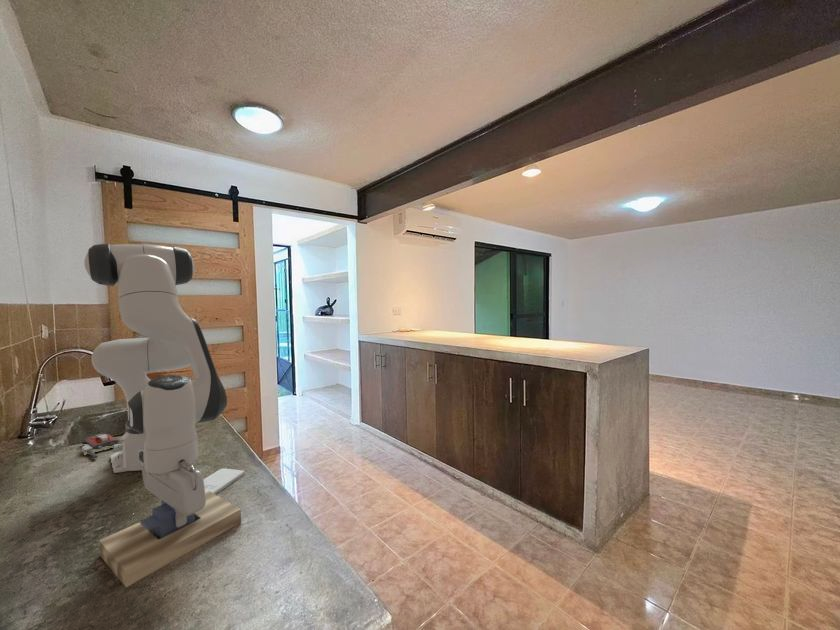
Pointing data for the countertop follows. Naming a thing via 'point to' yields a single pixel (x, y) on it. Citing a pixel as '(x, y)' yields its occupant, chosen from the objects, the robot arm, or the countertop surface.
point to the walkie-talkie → (98, 443)
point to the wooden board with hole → (165, 541)
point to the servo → (164, 521)
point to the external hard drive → (221, 479)
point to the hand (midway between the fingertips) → (174, 520)
